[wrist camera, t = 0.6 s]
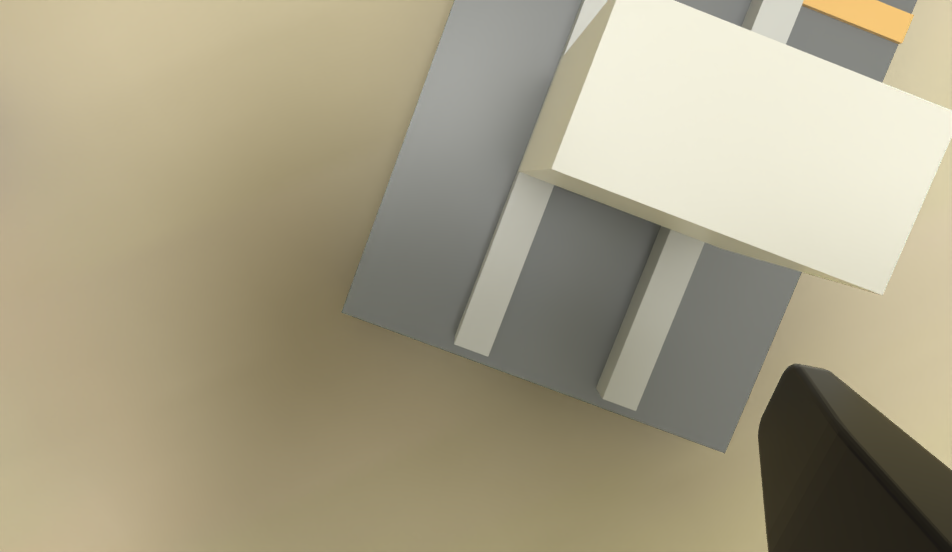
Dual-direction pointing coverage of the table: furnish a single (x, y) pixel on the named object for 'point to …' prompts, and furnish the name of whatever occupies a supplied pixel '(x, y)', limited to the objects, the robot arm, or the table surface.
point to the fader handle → (739, 141)
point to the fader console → (579, 228)
